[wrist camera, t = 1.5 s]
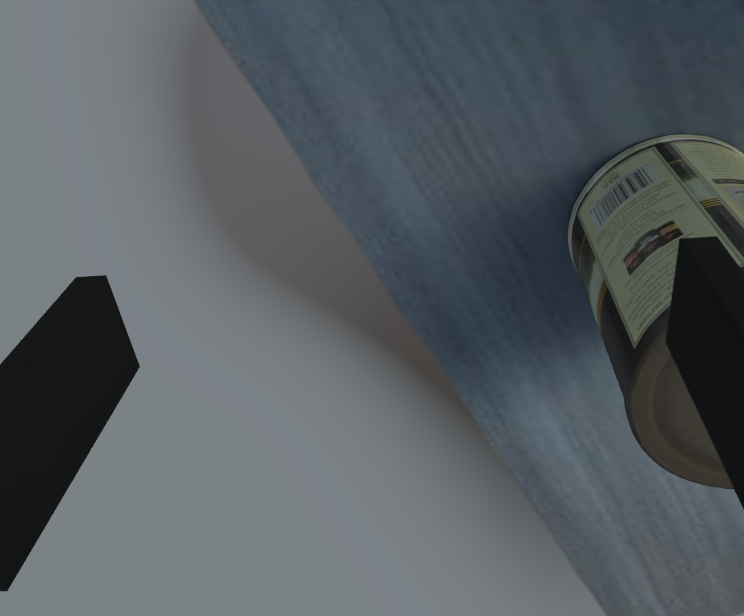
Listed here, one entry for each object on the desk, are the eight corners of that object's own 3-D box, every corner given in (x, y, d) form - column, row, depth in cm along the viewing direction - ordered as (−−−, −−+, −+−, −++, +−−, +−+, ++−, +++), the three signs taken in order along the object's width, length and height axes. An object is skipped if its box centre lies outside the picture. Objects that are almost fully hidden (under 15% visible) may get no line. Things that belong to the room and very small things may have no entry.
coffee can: (705, 325, 40) (818, 516, 29) (538, 279, 40) (582, 456, 28) (810, 163, 35) (1003, 316, 23) (618, 106, 34) (716, 235, 22)
